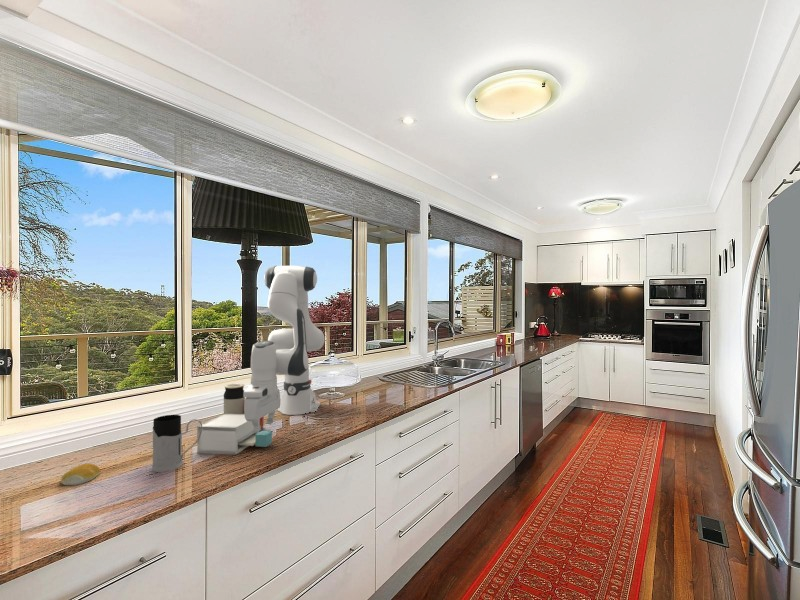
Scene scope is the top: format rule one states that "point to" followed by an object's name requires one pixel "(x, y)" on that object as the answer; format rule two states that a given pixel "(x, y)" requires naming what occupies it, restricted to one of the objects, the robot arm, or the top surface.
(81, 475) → the bread roll
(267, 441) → the cream and teal block
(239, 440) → the white box
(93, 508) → the top surface
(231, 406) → the travel mug
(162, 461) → the glass holder
